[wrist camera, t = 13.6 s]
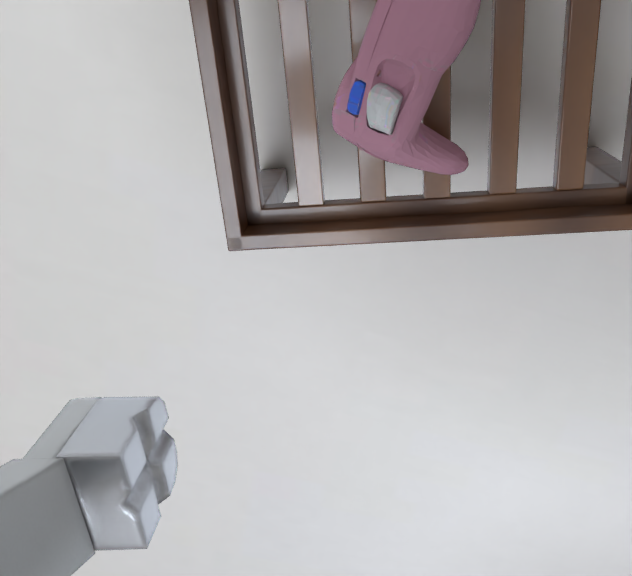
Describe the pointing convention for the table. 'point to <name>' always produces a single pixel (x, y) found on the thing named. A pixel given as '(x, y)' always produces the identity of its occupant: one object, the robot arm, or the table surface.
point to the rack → (436, 202)
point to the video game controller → (404, 82)
